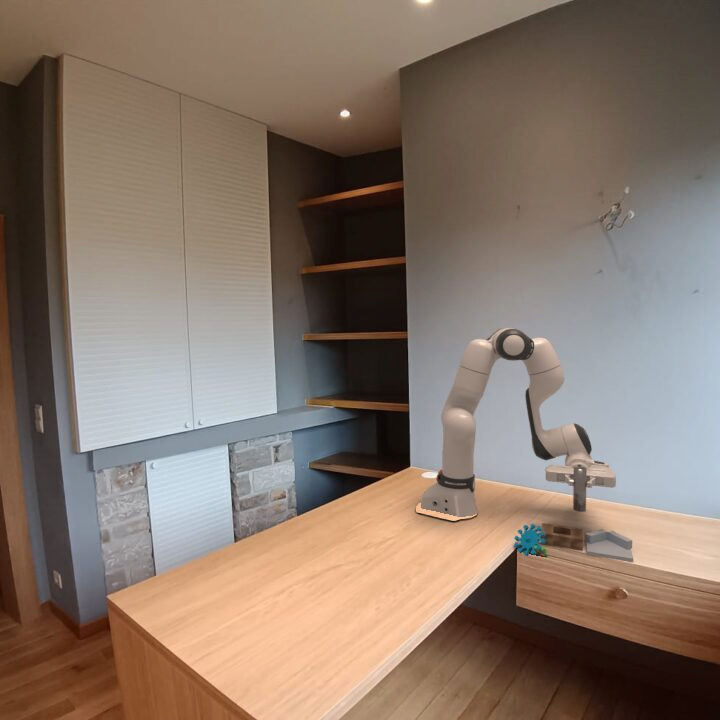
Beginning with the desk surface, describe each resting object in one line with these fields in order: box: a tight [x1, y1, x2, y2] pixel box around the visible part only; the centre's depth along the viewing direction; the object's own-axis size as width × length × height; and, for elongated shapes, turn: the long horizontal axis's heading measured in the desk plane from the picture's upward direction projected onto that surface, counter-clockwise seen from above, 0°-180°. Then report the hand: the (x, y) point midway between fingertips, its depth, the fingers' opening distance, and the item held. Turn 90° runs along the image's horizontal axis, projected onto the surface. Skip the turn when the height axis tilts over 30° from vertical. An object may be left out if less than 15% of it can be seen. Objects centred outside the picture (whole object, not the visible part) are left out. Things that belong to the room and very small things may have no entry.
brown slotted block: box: [540, 522, 584, 552], centre depth 150 cm, size 12×8×4 cm, turn 66°
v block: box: [584, 528, 634, 563], centre depth 145 cm, size 13×12×4 cm
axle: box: [572, 467, 587, 513], centre depth 147 cm, size 4×4×13 cm
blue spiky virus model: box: [513, 523, 549, 557], centre depth 145 cm, size 11×6×10 cm
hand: (580, 484), depth 146 cm, fingers closed on axle, 4 cm apart
